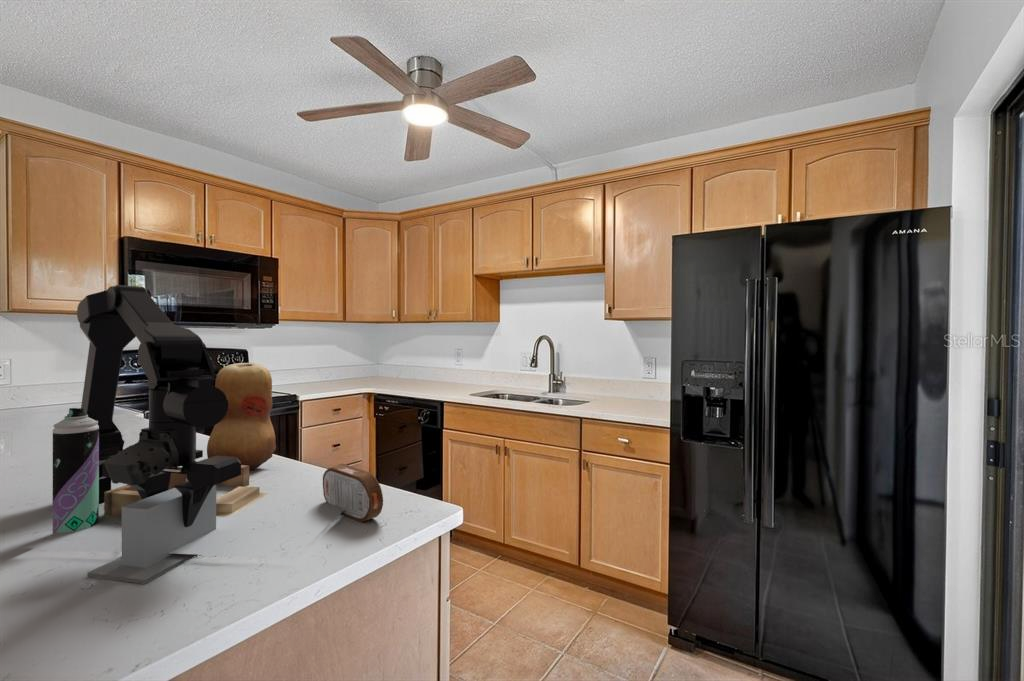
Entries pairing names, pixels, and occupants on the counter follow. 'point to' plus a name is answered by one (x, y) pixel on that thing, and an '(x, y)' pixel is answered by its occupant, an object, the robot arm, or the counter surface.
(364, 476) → the tin
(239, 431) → the butternut squash
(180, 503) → the gray rectangular block
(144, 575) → the mat
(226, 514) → the offcut lower
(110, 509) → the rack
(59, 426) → the spray can
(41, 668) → the counter surface
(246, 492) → the offcut upper
